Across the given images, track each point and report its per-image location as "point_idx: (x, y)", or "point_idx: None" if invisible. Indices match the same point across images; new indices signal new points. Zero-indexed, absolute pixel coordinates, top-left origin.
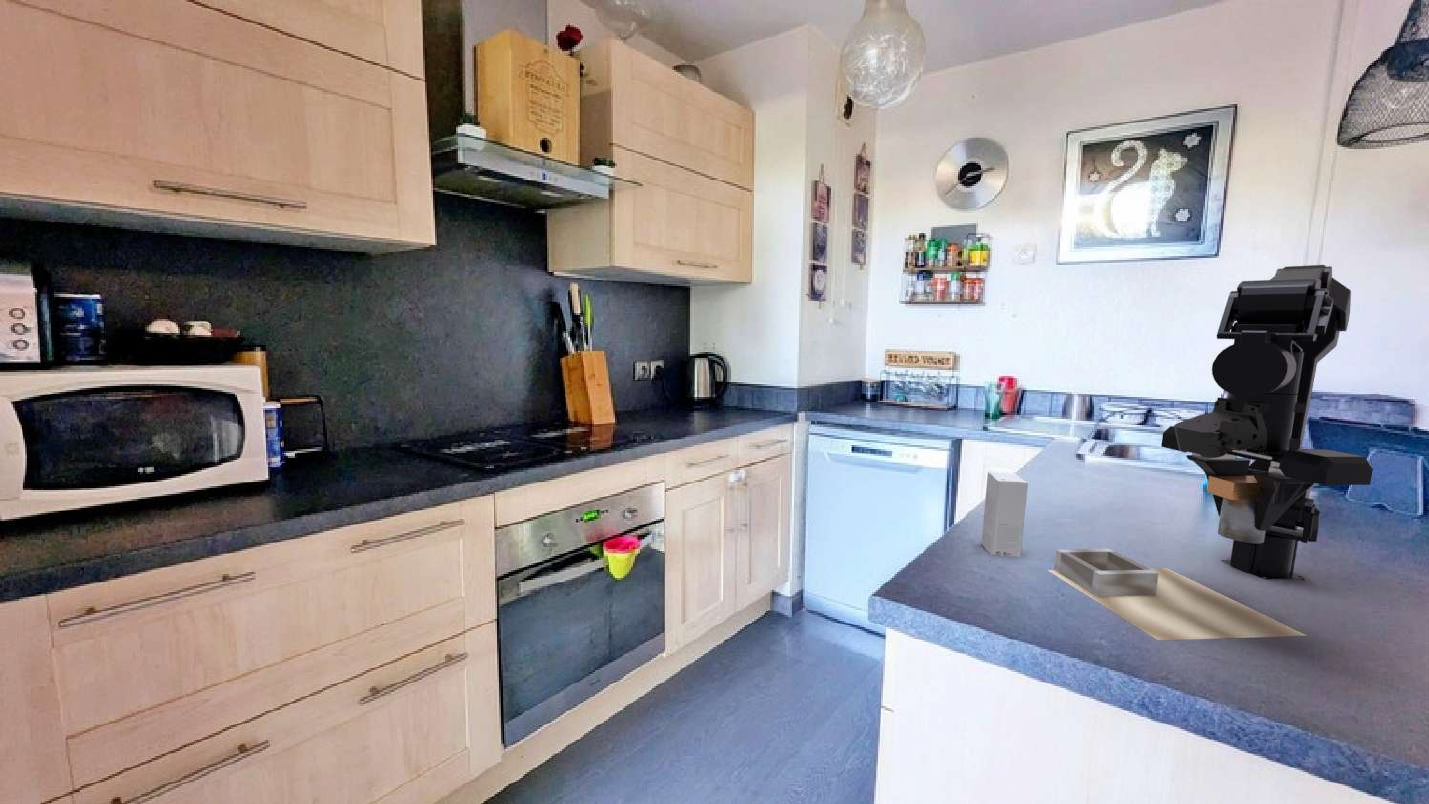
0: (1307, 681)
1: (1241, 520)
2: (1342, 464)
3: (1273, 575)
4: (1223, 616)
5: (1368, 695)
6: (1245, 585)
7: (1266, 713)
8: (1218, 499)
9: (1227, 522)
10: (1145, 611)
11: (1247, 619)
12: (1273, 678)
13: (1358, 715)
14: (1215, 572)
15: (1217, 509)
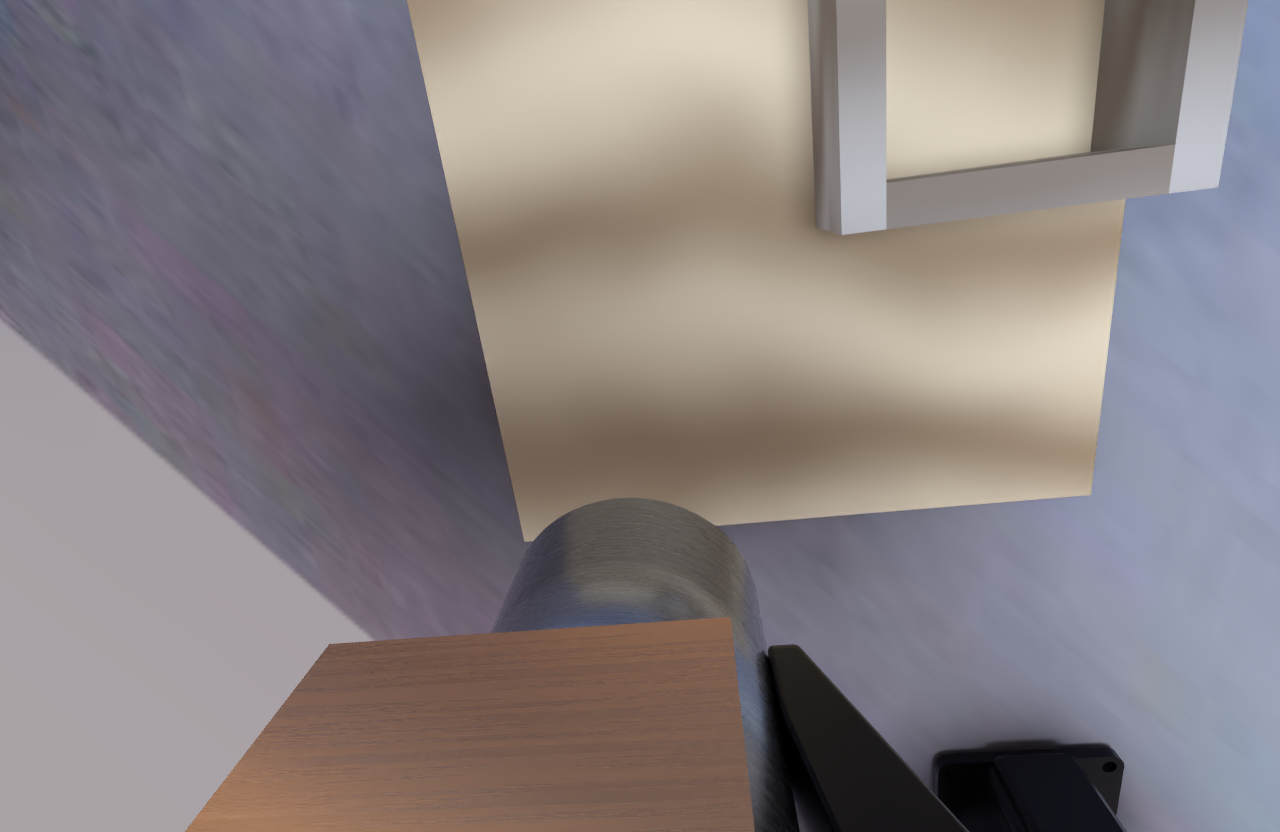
0: (267, 318)
1: (502, 629)
2: None
3: (958, 808)
4: (633, 373)
5: (235, 429)
6: (923, 681)
7: (19, 3)
8: (826, 751)
9: (598, 563)
10: (655, 49)
11: (617, 444)
12: (256, 218)
13: (114, 305)
14: (1043, 672)
15: (820, 676)
